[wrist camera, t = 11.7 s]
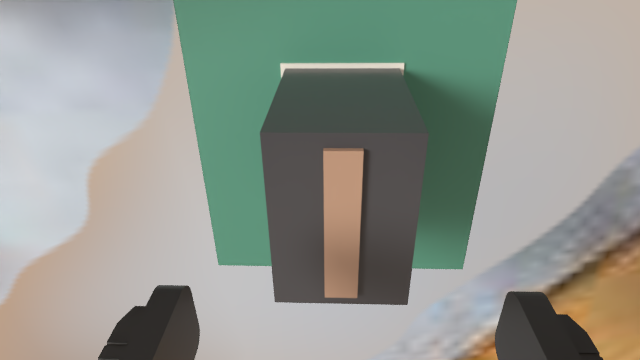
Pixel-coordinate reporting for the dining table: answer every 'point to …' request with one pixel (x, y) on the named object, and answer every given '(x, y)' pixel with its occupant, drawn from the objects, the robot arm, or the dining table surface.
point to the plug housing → (343, 185)
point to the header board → (343, 52)
